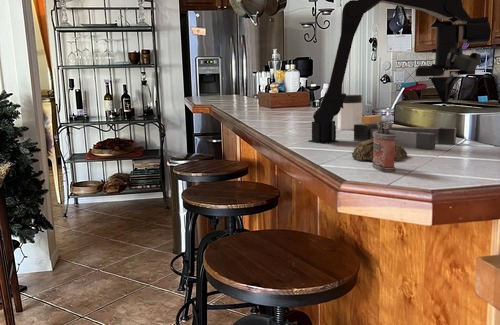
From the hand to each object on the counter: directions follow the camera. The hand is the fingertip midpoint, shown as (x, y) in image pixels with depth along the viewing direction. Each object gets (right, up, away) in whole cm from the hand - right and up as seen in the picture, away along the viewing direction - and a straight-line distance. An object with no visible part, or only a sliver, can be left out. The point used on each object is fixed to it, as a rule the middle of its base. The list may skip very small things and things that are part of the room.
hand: (444, 102), depth 134 cm
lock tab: (-19, -5, +6) cm, 20 cm away
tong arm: (-7, -11, 0) cm, 13 cm away
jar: (-18, -5, +40) cm, 44 cm away
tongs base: (-13, -12, -1) cm, 18 cm away
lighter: (-26, -18, -33) cm, 46 cm away
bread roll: (-24, -16, -20) cm, 35 cm away
